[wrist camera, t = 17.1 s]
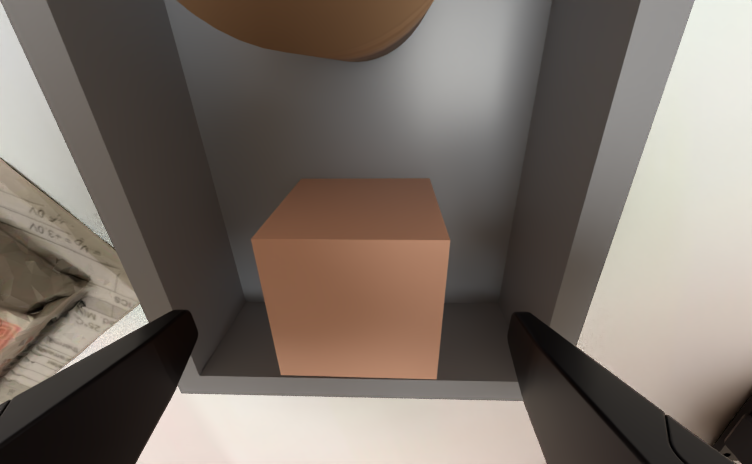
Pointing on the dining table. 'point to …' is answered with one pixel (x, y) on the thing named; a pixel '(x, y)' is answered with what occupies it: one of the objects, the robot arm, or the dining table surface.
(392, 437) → the dining table surface
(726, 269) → the dining table surface
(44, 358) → the packaged product
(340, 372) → the terracotta cube
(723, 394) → the dining table surface
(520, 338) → the robot arm
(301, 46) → the walnut cylinder
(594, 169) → the tote
